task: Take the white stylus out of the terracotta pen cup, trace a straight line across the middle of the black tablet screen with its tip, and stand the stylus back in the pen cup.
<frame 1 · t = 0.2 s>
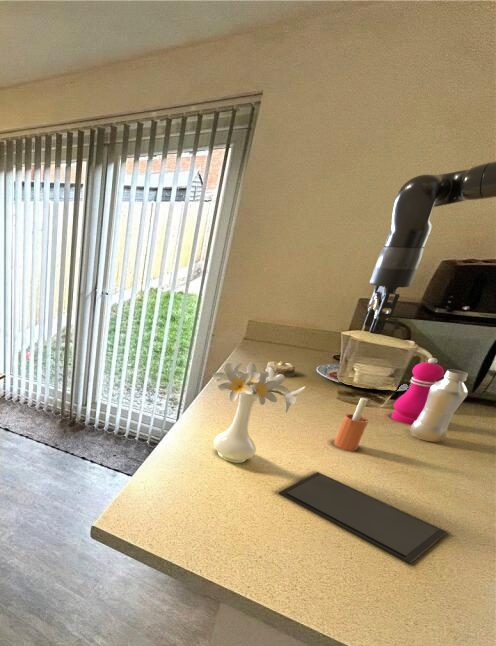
hand: (371, 329, 103), 30 cm above the countertop, tool pointing down, fingers open, 8 cm apart
stylus: (345, 445, 105), resting on pen cup
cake: (278, 373, 154), on the countertop
flower vase: (234, 457, 102), on the countertop
tablet: (355, 513, 82), on the countertop
plastic bottle: (423, 439, 108), on the countertop
pen cup: (344, 447, 105), on the countertop
ceramic plate: (358, 382, 145), on the countertop
pepper mill: (404, 421, 118), on the countertop
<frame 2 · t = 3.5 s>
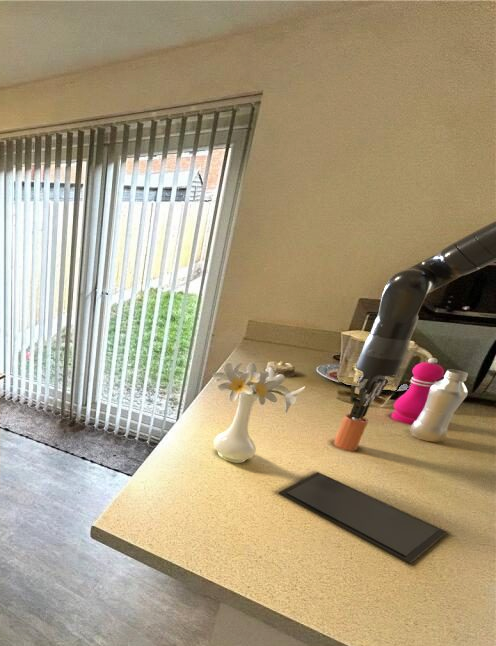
hand: (357, 416, 101), 10 cm above the countertop, tool pointing down, fingers closed on stylus, 1 cm apart
stylus: (345, 445, 105), point 1 cm above the countertop, touching gripper, pen cup
everything else where it was.
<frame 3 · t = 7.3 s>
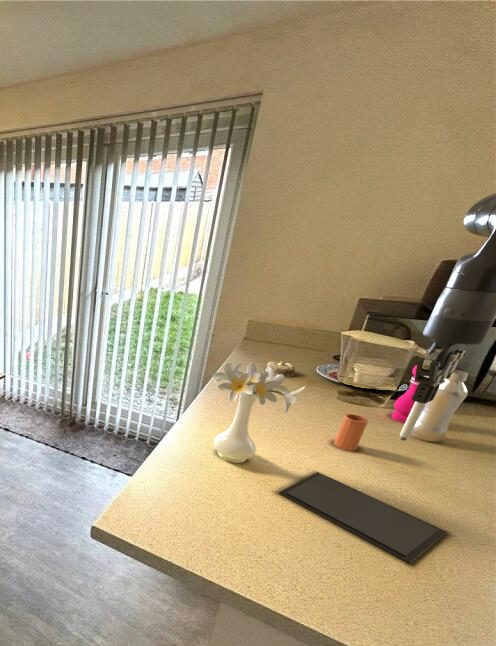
hand: (421, 400, 77), 24 cm above the countertop, tool pointing down, fingers closed on stylus, 1 cm apart
stylus: (402, 439, 81), point 15 cm above the countertop, touching gripper
everything else where it was.
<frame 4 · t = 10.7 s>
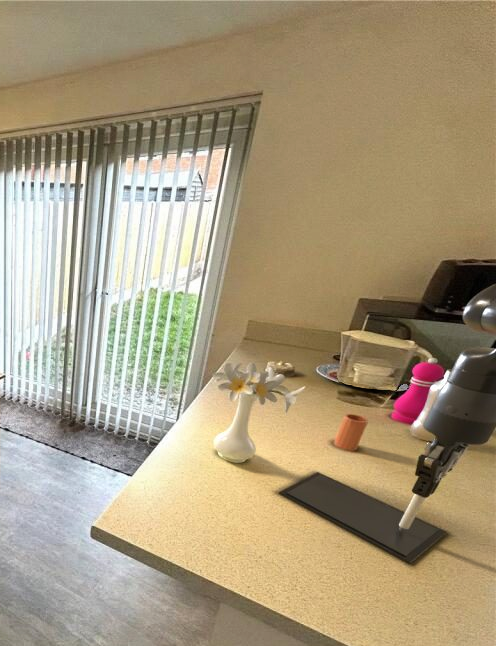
hand: (422, 492, 73), 10 cm above the countertop, tool pointing down, fingers closed on stylus, 1 cm apart
stylus: (402, 529, 76), point 1 cm above the countertop, touching gripper
everything else where it was.
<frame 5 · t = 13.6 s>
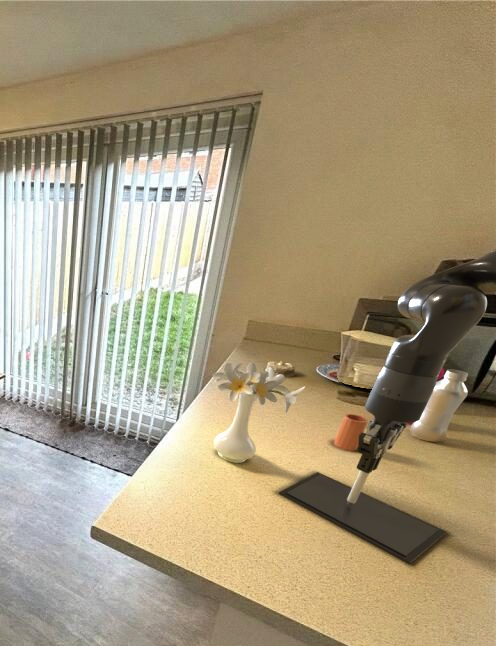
hand: (366, 469, 79), 10 cm above the countertop, tool pointing down, fingers closed on stylus, 1 cm apart
stylus: (349, 504, 83), point 1 cm above the countertop, touching gripper
everything else where it was.
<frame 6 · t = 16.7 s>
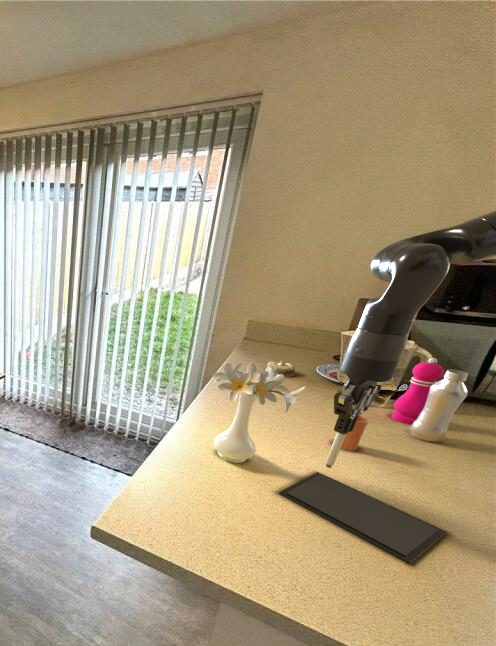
hand: (342, 430, 82), 16 cm above the countertop, tool pointing down, fingers closed on stylus, 1 cm apart
stylus: (328, 466, 85), point 7 cm above the countertop, touching gripper
everything else where it was.
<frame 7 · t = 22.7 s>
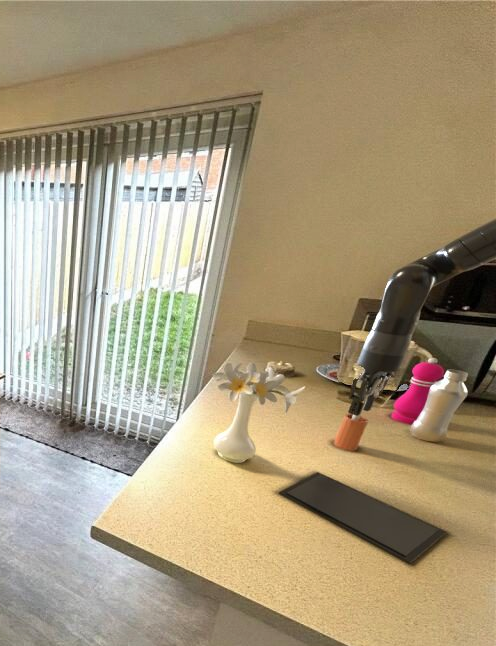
hand: (358, 411, 101), 11 cm above the countertop, tool pointing down, fingers open, 4 cm apart
stylus: (344, 445, 105), resting on pen cup
everything else where it was.
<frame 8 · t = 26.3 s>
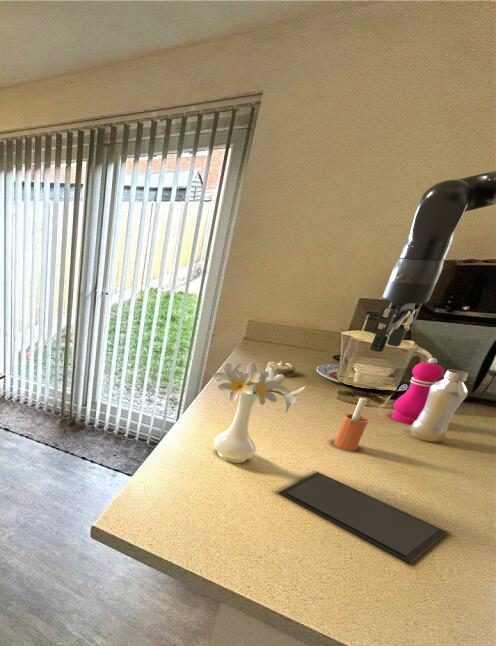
hand: (384, 348, 94), 28 cm above the countertop, tool pointing down, fingers open, 8 cm apart
nothing on the countertop moved.
at the end: stylus 0.1 cm off-centre in the pen cup, point 0.5 cm above the pen cup's base; stylus tilted 0°; stylus touching pen cup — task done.
